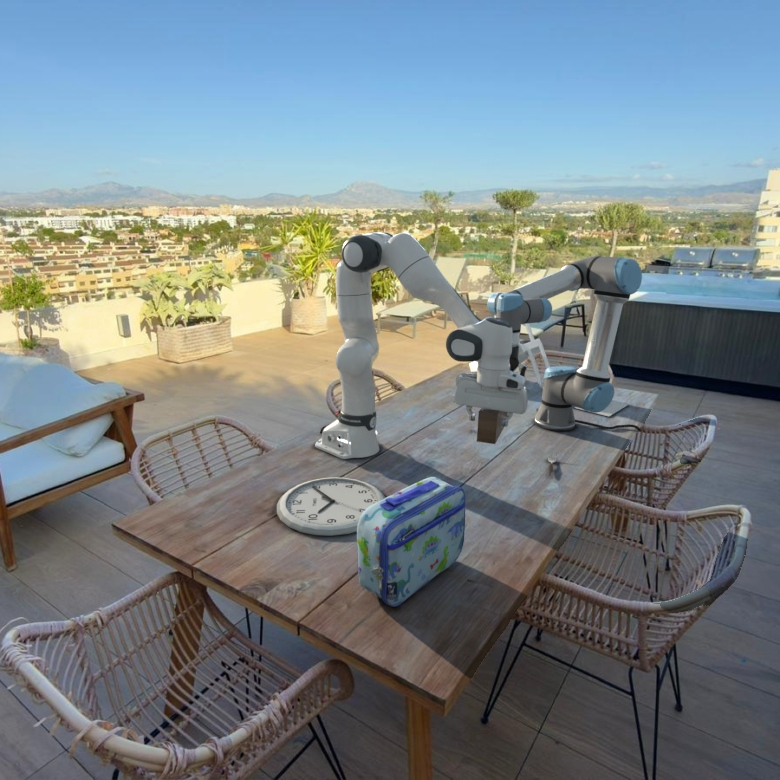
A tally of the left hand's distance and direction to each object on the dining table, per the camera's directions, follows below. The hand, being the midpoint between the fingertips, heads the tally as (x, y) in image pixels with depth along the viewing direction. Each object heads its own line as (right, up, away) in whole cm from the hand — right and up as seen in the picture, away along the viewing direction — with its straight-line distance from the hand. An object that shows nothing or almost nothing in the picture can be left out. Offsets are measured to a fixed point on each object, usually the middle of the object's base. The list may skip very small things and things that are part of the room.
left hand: (488, 422), depth 150 cm
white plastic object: (+30, +12, +107) cm, 112 cm away
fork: (+24, -15, +18) cm, 34 cm away
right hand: (+8, +1, +19) cm, 21 cm away
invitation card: (+63, +2, +77) cm, 99 cm away
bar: (+4, -2, +11) cm, 12 cm away
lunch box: (-23, -32, -36) cm, 53 cm away
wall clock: (-44, -22, -7) cm, 50 cm away
